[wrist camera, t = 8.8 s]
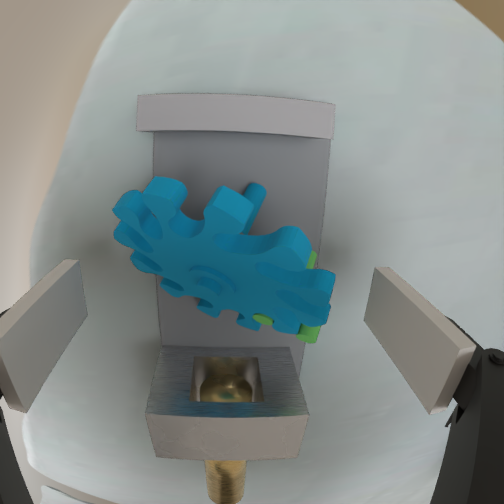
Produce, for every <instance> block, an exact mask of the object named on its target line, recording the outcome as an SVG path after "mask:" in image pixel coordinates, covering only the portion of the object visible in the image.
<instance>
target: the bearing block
mask: <svg viewBox="0 0 504 504" xmlns="http://www.w3.org/2000/svg"><path fill="white" fill-rule="evenodd" d="M218 374H233V375H237V376H240V377H242V378H244V379H245V380H246V381H248V382H249V384H250V385H251V387H252V390H253V395H252V402H202V401H200V386H201V384H202V383H203V381H205V380H206V379H207V378H209V377H211V376H214V375H218ZM145 416H146V420H147V424H148V428H149V432H150V436H151V439H152V443H153V447H154V450H155V454H156V457H162V458H174V459H189V460H217V461H242V460H270V459H285V458H297V457H298V453H299V450H300V446H301V443H302V439H303V436H304V432H305V429H306V425H307V421H308V418H309V412H308V409H307V405H306V402H305V398H304V395H303V391H302V388H301V385H300V381H299V378H298V375H297V371H296V368H295V364H294V361H293V358H292V354H291V351H290V347H198V346H175V345H162V346H161V350H160V353H159V357H158V361H157V365H156V369H155V373H154V377H153V381H152V385H151V390H150V394H149V398H148V402H147V407H146V411H145Z"/></svg>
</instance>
